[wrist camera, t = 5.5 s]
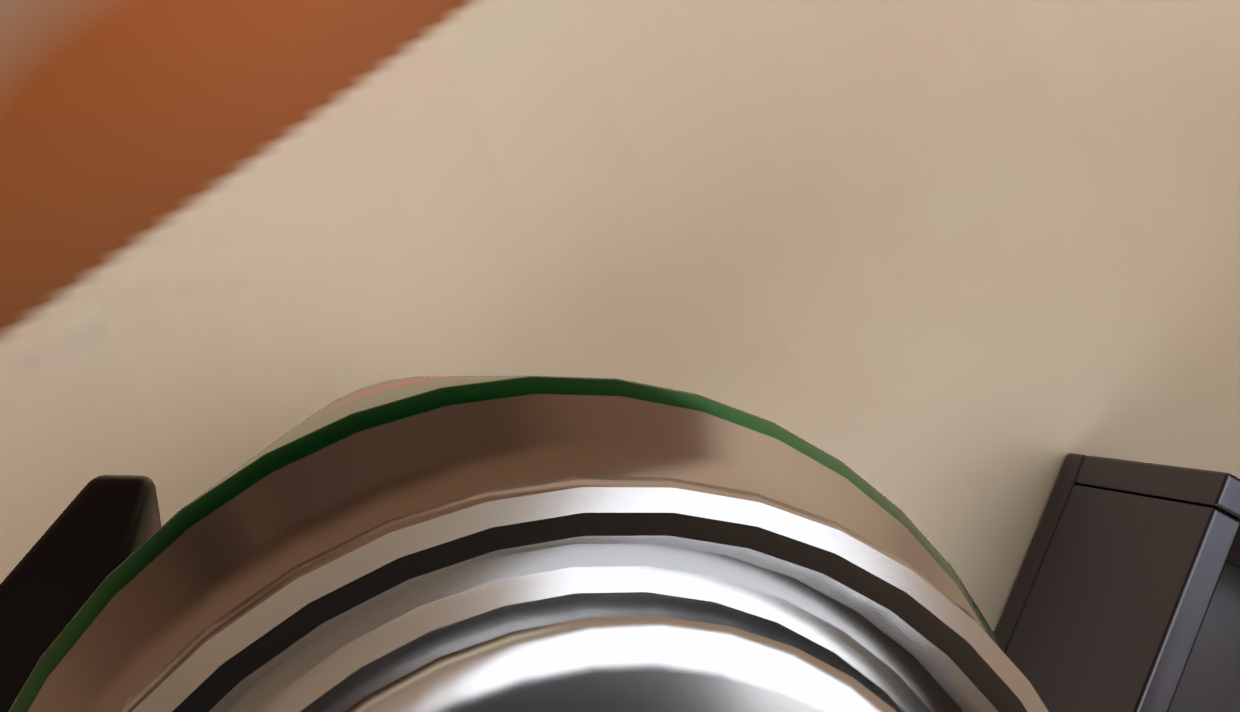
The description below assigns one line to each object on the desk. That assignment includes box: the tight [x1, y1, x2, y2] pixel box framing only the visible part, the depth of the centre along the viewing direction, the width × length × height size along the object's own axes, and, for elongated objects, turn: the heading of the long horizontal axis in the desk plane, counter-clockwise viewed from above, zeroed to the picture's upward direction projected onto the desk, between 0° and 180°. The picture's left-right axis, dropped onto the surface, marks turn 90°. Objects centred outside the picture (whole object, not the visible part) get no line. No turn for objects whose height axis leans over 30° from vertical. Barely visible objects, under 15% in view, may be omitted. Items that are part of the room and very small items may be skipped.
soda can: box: [9, 376, 1049, 712], centre depth 10 cm, size 5×5×12 cm
